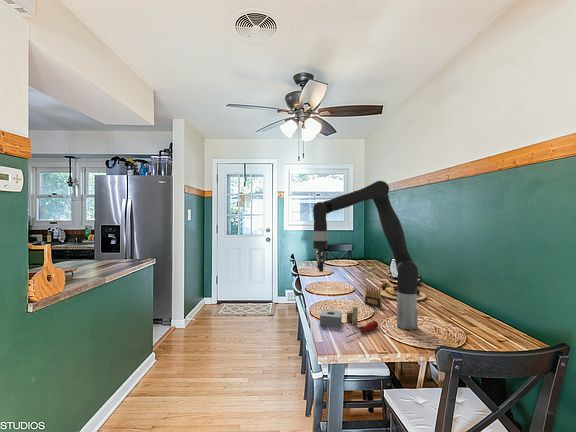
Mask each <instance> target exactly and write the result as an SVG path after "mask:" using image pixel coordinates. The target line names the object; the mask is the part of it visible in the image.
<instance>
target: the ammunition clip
mask: <svg viewBox="0 0 576 432" xmlns="http://www.w3.org/2000/svg"><path fill="white" fill-rule="evenodd" d="M380 289H381V286H380V287H377V286H371V285H366V287H365V297H364V304H365V305H368V306H371V307H372V306H373V307H376V308H382V297H381V290H380ZM378 290H379V293H378Z"/></svg>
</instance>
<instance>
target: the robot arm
mask: <svg viewBox="0 0 576 432" xmlns="http://www.w3.org/2000/svg"><path fill="white" fill-rule="evenodd" d="M389 186H390V185H389V184H388V183H387V182H386V181H384V180H376V181H373V182H372V183H371V184H369V185H367V186H365V187H363V188H360V189H357V190H354V191H350V192H347V193H344V194H340V195H338V196H335V197H332V198H330V199H328V200H327V199H326V200H325V201H316V202H315V203H314V205H313V207H312V213H313V214H312V215H313V216H312V217H313V238H312V248H313V249H314V250H316V252H315V254H316V257H315V258H316V264H317V265H316V267H317V270H318V272H320V273H321V272H322V273H323V272H324V264H325V252H324V250H326V249H327V250H328V224H327V223H328V222H327V214H330V213H332V212H335V211H339V210H342V209H346V208H349V207H351V206H354V205H357V204H358V203H363V202H365V201H368V200H372V201H373V203H374V205H375V207H376V210H377V213H378V217H379V221H380V226H381V228H382V232H383V235H384V237H385V239H386V241H387V244H388V246H389V248H390V250H391V251H392V254H393V259H394V263H395V266H396V272H397V284H396V285H397V301H396V327H397V326H398V328H399V327H400V328H399V329H401V328H402V329H401V330H405V329H417V330H418V316H419V315H418V313H419V312H418V311H419V310H418V309H417V308H418V307H417V305H418V302H417V288H419V287H418V285H419V283H418V282H419V269H418V267H417V265H416V264H415V263H414V261H413V259H412V257H411V255H410V253H409V250H408V247H407V243H406V241H407V240H406V237H405V232H404V230H403V226H402V223H401V221H400V219H399V217H398V215H397V213H396V212H395V210H394V208H393V207H392V204H391V201H390V195H389V193H390V192H389V191H390V187H389Z"/></svg>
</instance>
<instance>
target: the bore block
mask: <svg viewBox="0 0 576 432" xmlns="http://www.w3.org/2000/svg"><path fill="white" fill-rule="evenodd" d="M342 312H343V311H341V310H333V309H322V310H321V312H320V314H319V326H321V327H331V328H339V329H340V328H341V325H342V316H343V313H342Z"/></svg>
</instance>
